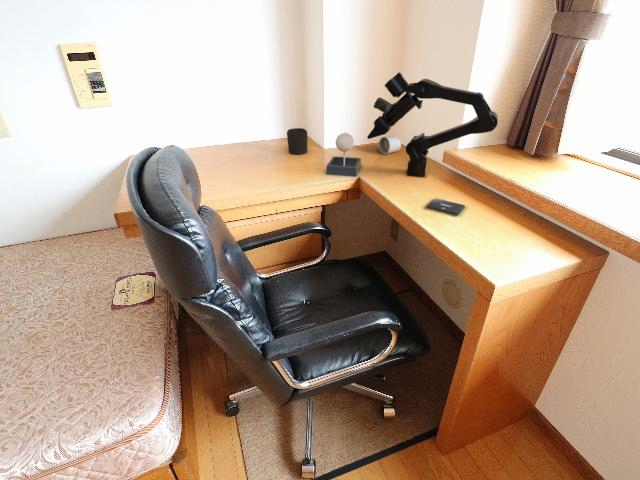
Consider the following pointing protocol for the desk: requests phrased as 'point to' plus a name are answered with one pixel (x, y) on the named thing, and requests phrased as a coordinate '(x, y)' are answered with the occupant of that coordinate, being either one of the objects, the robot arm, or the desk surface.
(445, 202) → the solid state drive
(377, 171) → the desk surface
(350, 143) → the lollipop
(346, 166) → the caddy
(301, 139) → the pen holder
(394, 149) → the ceramic mug
